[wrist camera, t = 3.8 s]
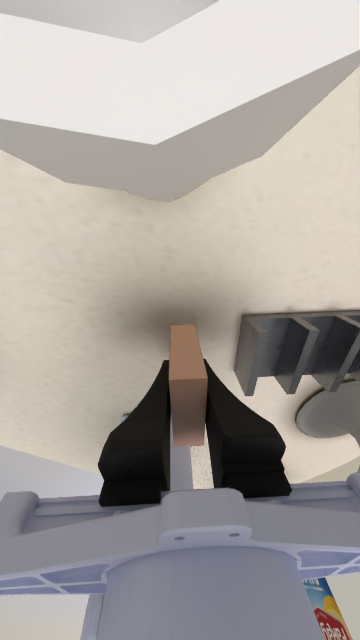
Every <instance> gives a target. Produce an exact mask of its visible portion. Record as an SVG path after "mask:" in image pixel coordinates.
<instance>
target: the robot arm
mask: <svg viewBox="0 0 360 640" xmlns="http://www.w3.org/2000/svg"><path fill="white" fill-rule="evenodd" d="M203 360H204V364H205V369H206V373H207V377H208V384H207V400H206V416H205V423H206V430H207V437H208V444H209V451H210V459H211V467H212V475H213V483H214V488H213V489H196V490H193V478H192V465H191V452H190V447H191V446H181V447H174V443H173V430H172V416H171V403H170V390H169V360H164V361H163V364H162V366H161V369H160V371H159V373H158V375H157V377H156V379H155V381H154V383H153V384H152V386H151V388H150V389H149V391H148V392H147V394H146V395H145V397H144V398H143V399H142V401H141V402H140V403H139V404H138V406H137V407H136V408H135V409H134V410H133V411H132V412H131V414H130V415H125V416H123V417H122V423H121V424H120V425H119V426H118V427H116V428H115V429H114V430H113V431H112V432H111V433H110V435H109V437H108V439H107V441H106V443H105V445H104V447H103V450H102V453H101V456H100V459H99V463H98V468H99V470H100V472H101V474H102V477H103V479H104V483H103V487H102V490H101V494H100V495H92V496H75V497H58V498H40V499H39V497H38V495H37V494H36V493H34V492H31V491H24V492H23V491H21V492H8V493H6V494H5V495H4V496H3V498H2V500H1V501H0V596H1V595H27V594H28V595H29V594H32V595H33V594H90V595H89V600H88V604H87V609H86V614H85V619H84V624H83V629H82V634H81V639H80V640H325V639H324V637H323V634H322V631H321V629H320V626H319V624H318V621H317V618H316V616H315V613H314V610H313V608H312V605H311V602H310V600H309V597H308V594H307V592H306V589H305V586H304V584H303V581H302V580H308V579H315V578H323V577H330V576H338V575H344V574H353V573H360V472H357V473H353V474H351V475H350V476H348V478H347V480H346V481H335V482H318V483H300V484H289V482H288V480H287V478H286V476H285V474H284V470H285V469H284V466H283V464H282V462H281V459H282V457H283V454H284V452H285V448H286V446H285V443H284V441H283V439H282V437H281V435H280V434H279V432H278V431H277V429H276V428H275V426H274V425H273V424H272V423H270V422H269V421H267V420H265V419H264V418H262V417H261V416H259V415H258V414H256V413H255V412H254V411H252V410H251V409H250V408H248V407H247V406H246V405H245V404H244V403H242V402H241V401H240V400H239V399H238V398H237V397H236V396H234V395H233V394H232V393H231V392H230V391H229V390H228V389H227V387H226V386H225V385H224V384H223V383H222V382H221V381H220V379H219V378H218V377H217V376H216V374H215V373H214V372H213V370H212V369H211V367H210V366H209V364H208V363H207V361H206V359H203Z"/></svg>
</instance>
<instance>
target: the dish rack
mask: <svg viewBox="0 0 360 640" xmlns="http://www.w3.org/2000/svg"><path fill="white" fill-rule="evenodd" d="M234 372H235V375H236V377H237V379H238V381H239V383H240V386H241V388H242V390H243V392H244V395H245V396H253V394H254V390H255V386H256V381H257V377H266V376H274V377H275V378H276V380H277V381H278V382H279V384H280V385H281V387H282V388H283V389H284V391H285V392H286V394H295V392H296V389H297V387H298V384H299V382H300V379H301V377H302V375H310V374H311V375H312V376H313V377H314V378H315V379H316V380H317V381H318V382H319V383H320V384H321V385H322V386H323V387H324V388H325V389H326V390H327V391H328V392H336V391H337V389H338V388H339V386H340V384H341V382H342V380H343V378H344V376H345V375H346V373H348V374H349V375H351V376H352V377H353V378H354V379H356V380H357V381H358V382H359V383H360V310H357V311H331V312H306V313H280V314H255V315H243V317H242V323H241V330H240V336H239V343H238V350H237V356H236V363H235V370H234Z"/></svg>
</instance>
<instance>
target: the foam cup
mask: <svg viewBox="0 0 360 640" xmlns="http://www.w3.org/2000/svg"><path fill="white" fill-rule="evenodd" d="M359 66H360V0H0V149H1V150H3V151H5V152H7V153H9V154H11V155H13V156H15V157H17V158H19V159H21V160H23V161H25V162H27V163H29V164H31V165H33V166H35V167H37V168H38V169H40V170H42V171H44V172H46V173H48V174H50V175H52V176H54V177H56V178H58V179H60V180H62V181H64V182H67V183H74V184H80V185H87V186H94V187H101V188H108V189H115V190H121V191H126V192H129V193H132V194H135V195H138V196H141V197H144V198H147V199H152V200H158V201H165V202H170V201H172V200H175V199H177V198H180V197H182V196H184V195H187V194H189V193H190V192H192V191H193V190H194V189H196V188H197V187H199V186H200V185H202V184H203V183H205V182H206V181H207V180H209V179H210V178H212V177H214V176H216V175H219V174H221V173H224V172H226V171H228V170H231V169H233V168H235V167H238V166H240V165H242V164H245V163H247V162H250V161H252V160H254V159H257V158H259V157H261V156H262V155H263V154H264V153H266V152H267V151H268V150H269V149H270V148H271V147H272V146H273V145H274V144H275V143H276V142H277V141H279V140H280V139H281V138H282V137H283V136H284V135H285V134H286V133H287V132H288V131H289V130H290V129H292V128H293V127H294V126H295V125H296V124H297V123H298V122H299V121H300V120H301V119H302V118H303V117H305V116H306V115H307V114H308V113H309V112H310V111H311V110H312V109H313V108H314V107H315V106H316V105H317V104H319V103H320V102H321V101H322V100H323V99H324V98H325V97H326V96H327V95H328V94H329V93H330V92H332V91H333V90H334V89H335V88H336V87H337V86H338V85H339V84H340V83H341V82H342V81H343V80H345V79H346V78H347V77H348V76H349V75H350V74H351V73H352V72H353V71H354V70H355V69H356V68H358V67H359Z"/></svg>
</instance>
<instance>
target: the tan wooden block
mask: <svg viewBox="0 0 360 640" xmlns="http://www.w3.org/2000/svg"><path fill="white" fill-rule="evenodd" d="M207 384H208V377H207V373H206V369H205V364H204V360H203V356H202V352H201V348H200V344H199V340H198V336H197V332H196V327H195V324H191V325H171V332H170V360H169V390H170V403H171V416H172V430H173V443H174V447H181V446H200V445H204V433H205V416H206V400H207Z"/></svg>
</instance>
